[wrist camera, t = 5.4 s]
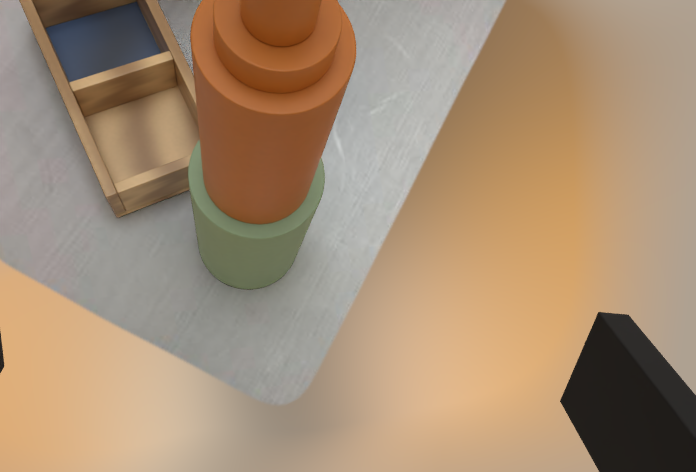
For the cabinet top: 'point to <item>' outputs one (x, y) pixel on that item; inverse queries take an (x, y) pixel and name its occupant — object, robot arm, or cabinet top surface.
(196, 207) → the stand
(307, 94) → the bottle
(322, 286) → the cabinet top surface
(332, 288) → the cabinet top surface
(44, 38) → the wooden divided box
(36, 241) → the cabinet top surface
